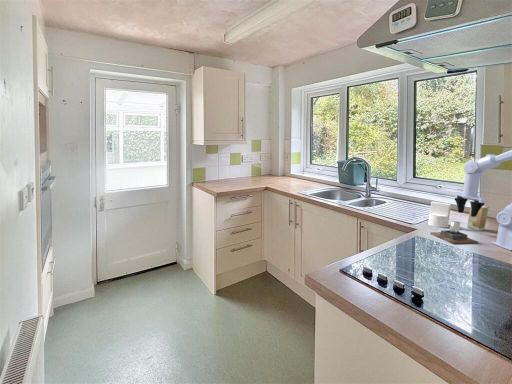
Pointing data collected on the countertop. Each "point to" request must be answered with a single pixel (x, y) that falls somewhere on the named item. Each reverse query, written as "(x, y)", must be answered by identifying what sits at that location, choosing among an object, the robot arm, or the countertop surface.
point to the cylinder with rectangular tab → (439, 214)
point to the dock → (454, 237)
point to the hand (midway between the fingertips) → (467, 214)
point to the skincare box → (478, 219)
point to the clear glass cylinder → (454, 227)
